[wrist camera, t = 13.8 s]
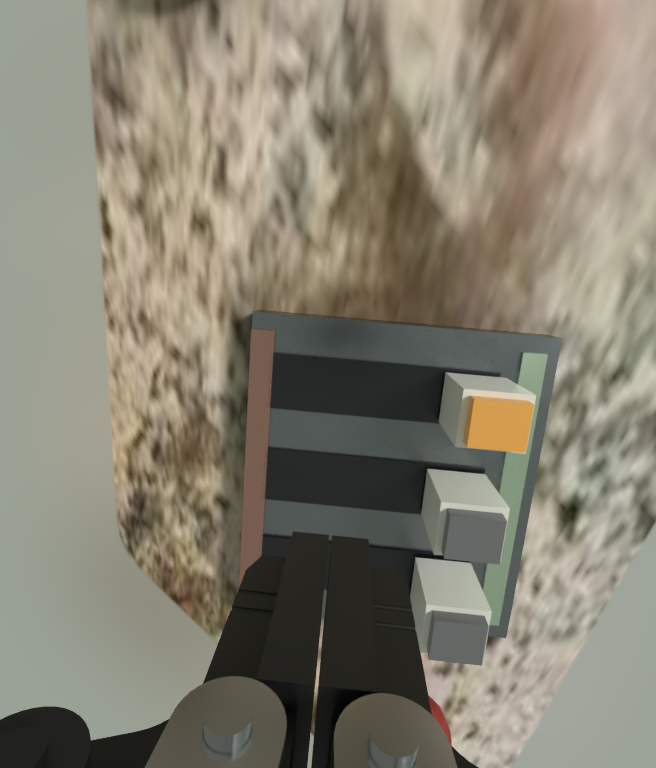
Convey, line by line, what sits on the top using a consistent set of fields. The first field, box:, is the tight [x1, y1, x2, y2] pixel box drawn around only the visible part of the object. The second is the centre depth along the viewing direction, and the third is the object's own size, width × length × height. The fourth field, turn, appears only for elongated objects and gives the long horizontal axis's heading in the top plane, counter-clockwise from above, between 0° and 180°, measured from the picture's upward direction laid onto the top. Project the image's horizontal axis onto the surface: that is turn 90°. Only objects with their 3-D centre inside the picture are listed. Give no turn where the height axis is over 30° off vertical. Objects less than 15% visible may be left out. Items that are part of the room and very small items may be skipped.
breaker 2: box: [410, 557, 492, 665], centre depth 27 cm, size 3×4×5 cm
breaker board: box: [239, 310, 562, 638], centre depth 30 cm, size 20×18×2 cm
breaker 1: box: [421, 469, 510, 564], centre depth 26 cm, size 3×4×5 cm
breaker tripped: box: [439, 372, 536, 454], centre depth 25 cm, size 3×4×5 cm
